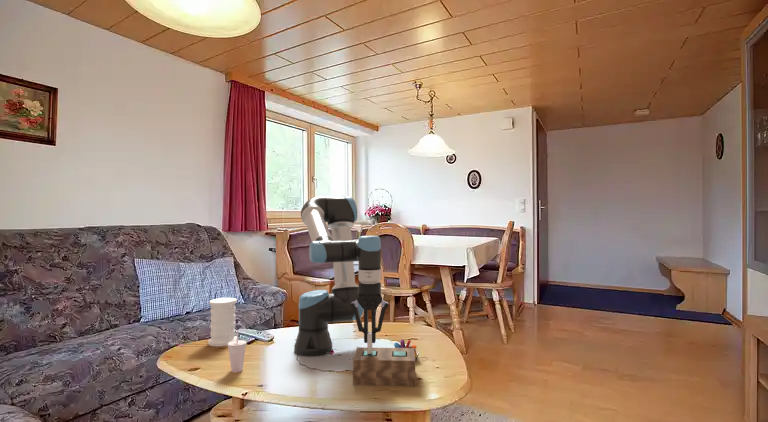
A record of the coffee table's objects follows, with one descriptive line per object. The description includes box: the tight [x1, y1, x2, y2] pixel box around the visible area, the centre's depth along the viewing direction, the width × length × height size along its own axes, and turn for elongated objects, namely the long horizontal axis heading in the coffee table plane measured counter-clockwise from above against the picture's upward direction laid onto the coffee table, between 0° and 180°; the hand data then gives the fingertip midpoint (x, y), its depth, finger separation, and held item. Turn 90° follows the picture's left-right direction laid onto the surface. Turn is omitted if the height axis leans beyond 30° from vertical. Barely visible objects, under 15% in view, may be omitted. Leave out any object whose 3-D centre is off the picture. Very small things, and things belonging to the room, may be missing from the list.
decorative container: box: [208, 297, 237, 347], centre depth 169 cm, size 12×12×18 cm
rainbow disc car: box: [393, 339, 418, 358], centre depth 149 cm, size 8×10×7 cm
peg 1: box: [363, 351, 376, 356], centre depth 131 cm, size 4×4×8 cm
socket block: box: [352, 347, 416, 387], centre depth 131 cm, size 20×12×8 cm, turn 88°
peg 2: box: [393, 351, 406, 357], centre depth 131 cm, size 4×4×8 cm
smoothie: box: [227, 330, 248, 373], centre depth 138 cm, size 6×6×14 cm
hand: (369, 352), depth 131 cm, fingers closed
